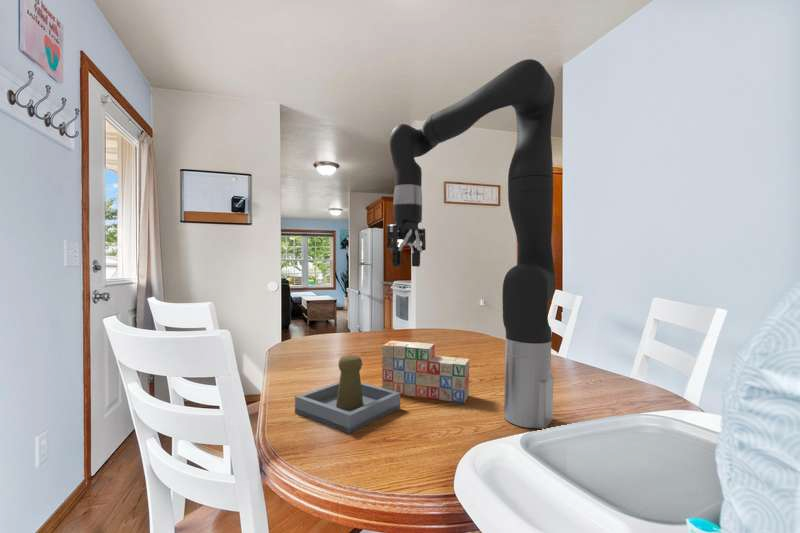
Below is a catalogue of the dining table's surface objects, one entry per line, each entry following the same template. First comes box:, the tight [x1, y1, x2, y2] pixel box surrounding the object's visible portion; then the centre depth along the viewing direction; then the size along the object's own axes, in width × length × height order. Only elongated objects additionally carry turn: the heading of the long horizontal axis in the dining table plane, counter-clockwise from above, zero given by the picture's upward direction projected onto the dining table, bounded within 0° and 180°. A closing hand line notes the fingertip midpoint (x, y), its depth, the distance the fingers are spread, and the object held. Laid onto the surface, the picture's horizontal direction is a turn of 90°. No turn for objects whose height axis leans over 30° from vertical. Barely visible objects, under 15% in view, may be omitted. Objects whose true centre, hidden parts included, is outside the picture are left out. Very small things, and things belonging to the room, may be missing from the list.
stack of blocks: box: [381, 340, 470, 404], centre depth 97 cm, size 21×6×12 cm, turn 70°
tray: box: [294, 381, 401, 435], centre depth 85 cm, size 16×16×4 cm
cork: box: [336, 354, 363, 410], centre depth 85 cm, size 6×6×11 cm
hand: (406, 266), depth 100 cm, fingers open, 8 cm apart
